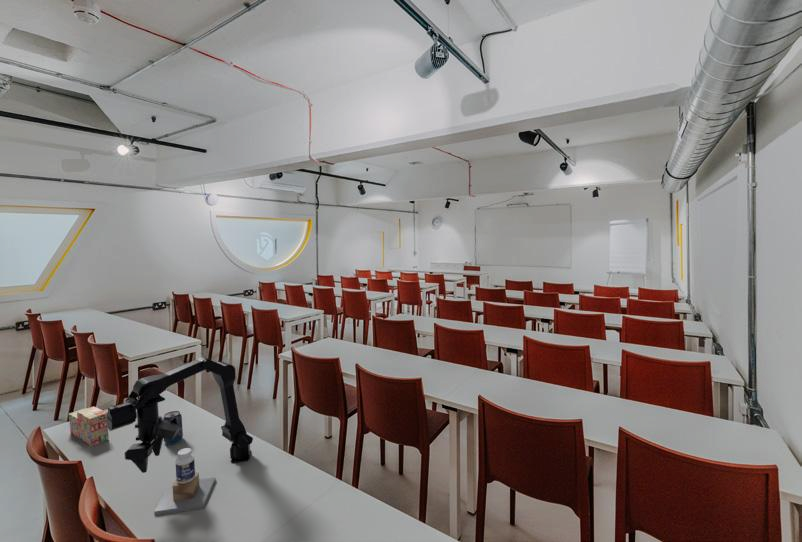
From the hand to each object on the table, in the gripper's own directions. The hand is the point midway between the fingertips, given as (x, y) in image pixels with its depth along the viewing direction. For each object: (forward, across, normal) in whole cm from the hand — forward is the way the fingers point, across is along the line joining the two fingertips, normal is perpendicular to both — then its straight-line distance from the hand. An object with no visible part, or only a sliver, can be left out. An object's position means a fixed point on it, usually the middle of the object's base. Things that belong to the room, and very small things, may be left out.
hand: (151, 463), depth 121 cm
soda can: (+13, +39, +8) cm, 42 cm away
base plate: (+13, 0, -10) cm, 16 cm away
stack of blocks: (+13, +51, +46) cm, 70 cm away
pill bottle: (+7, 0, -10) cm, 12 cm away
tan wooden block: (+12, 0, -10) cm, 15 cm away
